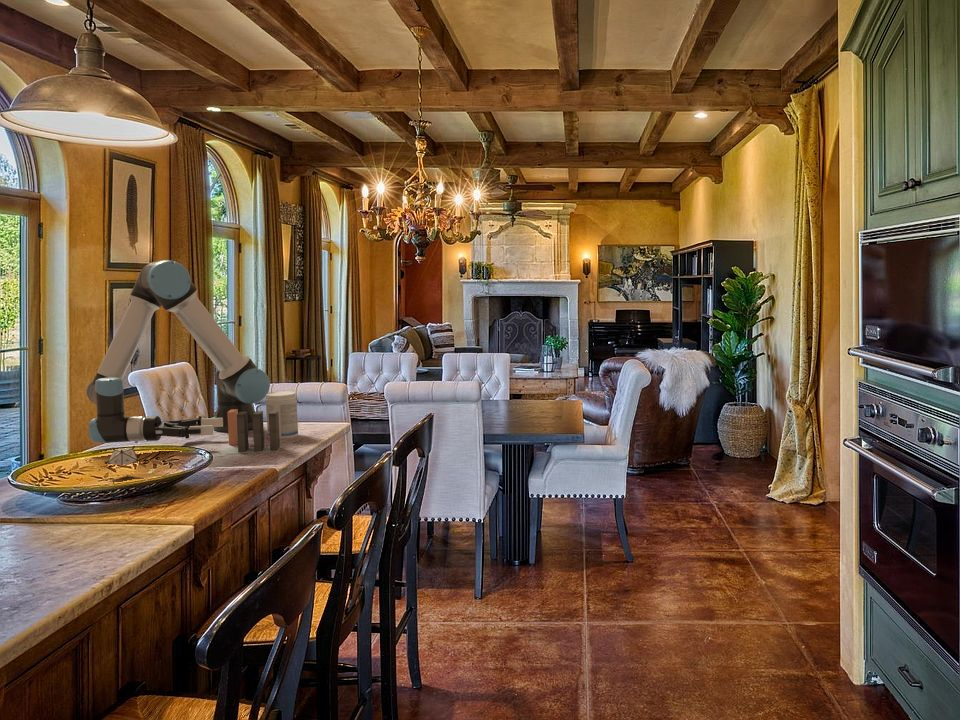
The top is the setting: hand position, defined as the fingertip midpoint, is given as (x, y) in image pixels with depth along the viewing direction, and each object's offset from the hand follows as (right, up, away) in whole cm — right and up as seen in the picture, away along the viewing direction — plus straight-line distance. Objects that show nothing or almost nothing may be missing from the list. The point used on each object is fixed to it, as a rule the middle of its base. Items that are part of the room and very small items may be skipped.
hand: (218, 426), depth 232 cm
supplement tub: (+17, -5, +12) cm, 21 cm away
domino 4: (+20, -6, -9) cm, 22 cm away
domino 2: (+11, -6, -10) cm, 16 cm away
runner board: (+13, -7, -9) cm, 18 cm away
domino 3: (+15, -6, -9) cm, 19 cm away
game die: (-11, -10, -36) cm, 40 cm away
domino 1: (+5, -6, +2) cm, 8 cm away
